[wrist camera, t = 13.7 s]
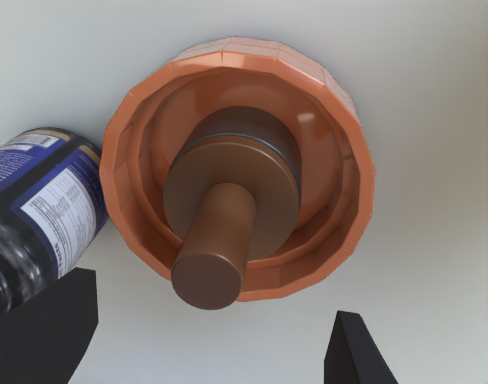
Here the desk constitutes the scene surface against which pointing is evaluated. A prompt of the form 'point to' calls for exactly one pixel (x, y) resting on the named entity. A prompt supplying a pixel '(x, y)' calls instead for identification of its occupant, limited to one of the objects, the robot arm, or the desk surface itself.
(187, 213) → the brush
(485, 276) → the desk surface
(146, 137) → the dish
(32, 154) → the pill bottle
